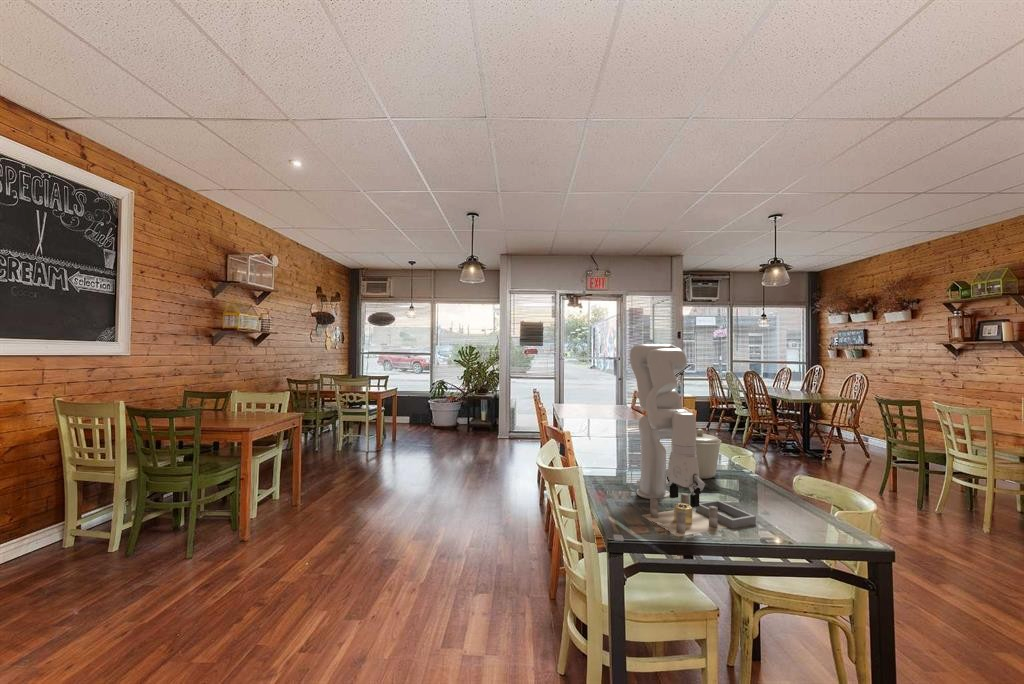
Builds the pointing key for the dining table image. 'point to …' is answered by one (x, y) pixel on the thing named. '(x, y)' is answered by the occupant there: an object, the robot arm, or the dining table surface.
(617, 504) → the dining table surface
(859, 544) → the dining table surface
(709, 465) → the canister
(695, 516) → the spacer board
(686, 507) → the tan faceted piece
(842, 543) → the dining table surface
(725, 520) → the tray
